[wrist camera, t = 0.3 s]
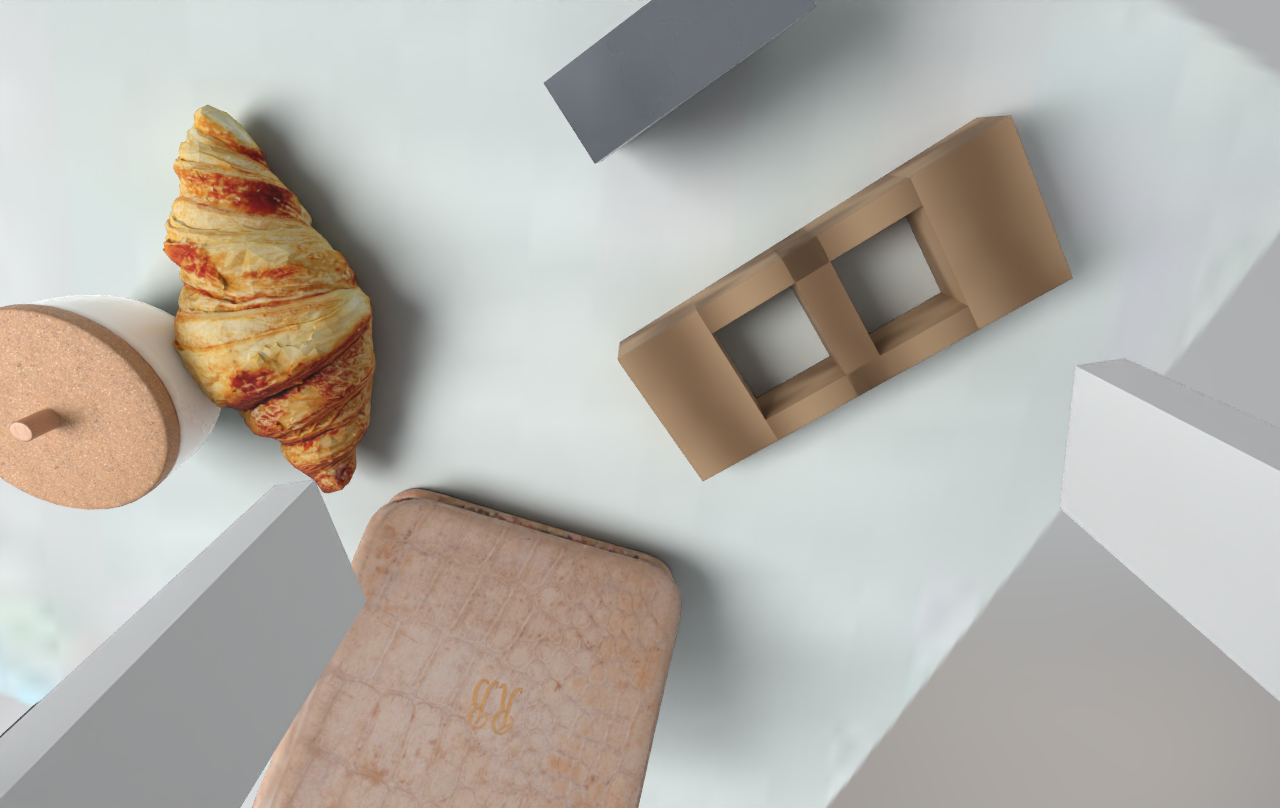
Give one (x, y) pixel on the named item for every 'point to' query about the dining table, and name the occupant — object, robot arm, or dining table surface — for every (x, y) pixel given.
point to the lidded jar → (95, 400)
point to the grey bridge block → (661, 64)
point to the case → (484, 669)
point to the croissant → (268, 304)
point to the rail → (954, 249)
